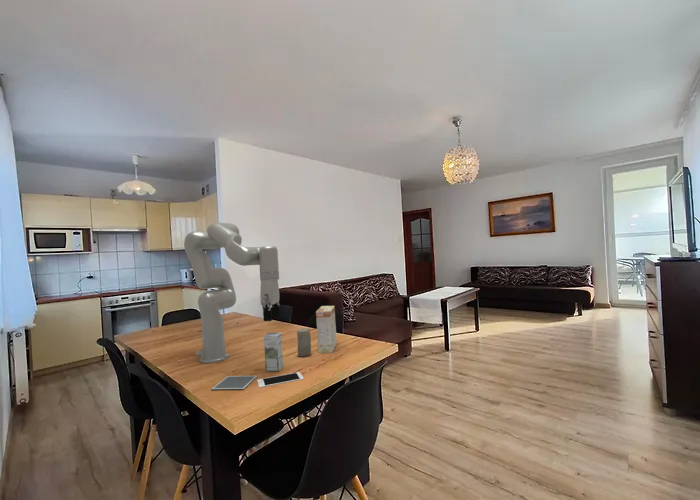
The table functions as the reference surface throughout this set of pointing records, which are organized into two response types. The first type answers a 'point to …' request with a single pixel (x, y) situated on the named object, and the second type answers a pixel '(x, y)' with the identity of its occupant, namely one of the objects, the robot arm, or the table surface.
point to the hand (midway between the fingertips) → (272, 318)
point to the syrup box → (273, 351)
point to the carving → (304, 342)
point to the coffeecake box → (326, 329)
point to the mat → (234, 383)
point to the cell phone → (279, 379)
